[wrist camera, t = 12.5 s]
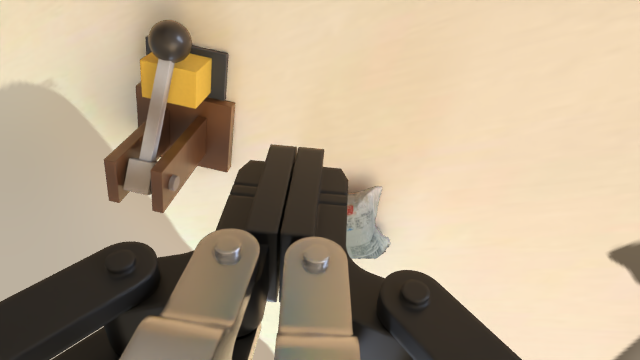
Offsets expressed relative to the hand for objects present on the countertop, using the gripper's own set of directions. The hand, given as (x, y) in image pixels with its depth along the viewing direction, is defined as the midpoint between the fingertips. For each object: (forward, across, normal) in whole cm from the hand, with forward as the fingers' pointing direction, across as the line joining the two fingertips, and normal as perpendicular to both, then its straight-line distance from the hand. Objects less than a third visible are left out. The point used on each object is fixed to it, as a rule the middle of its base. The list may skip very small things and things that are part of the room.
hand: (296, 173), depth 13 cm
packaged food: (+29, -2, +26) cm, 39 cm away
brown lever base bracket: (+30, +15, +17) cm, 38 cm away
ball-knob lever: (+25, +15, +12) cm, 32 cm away
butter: (+31, +14, +10) cm, 35 cm away
